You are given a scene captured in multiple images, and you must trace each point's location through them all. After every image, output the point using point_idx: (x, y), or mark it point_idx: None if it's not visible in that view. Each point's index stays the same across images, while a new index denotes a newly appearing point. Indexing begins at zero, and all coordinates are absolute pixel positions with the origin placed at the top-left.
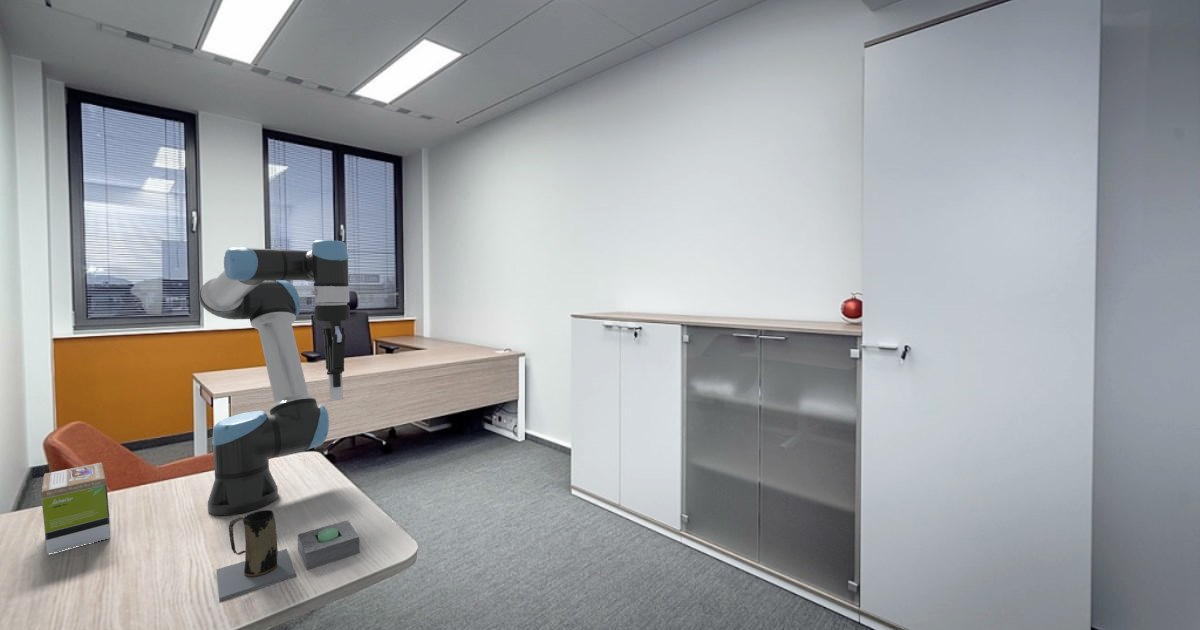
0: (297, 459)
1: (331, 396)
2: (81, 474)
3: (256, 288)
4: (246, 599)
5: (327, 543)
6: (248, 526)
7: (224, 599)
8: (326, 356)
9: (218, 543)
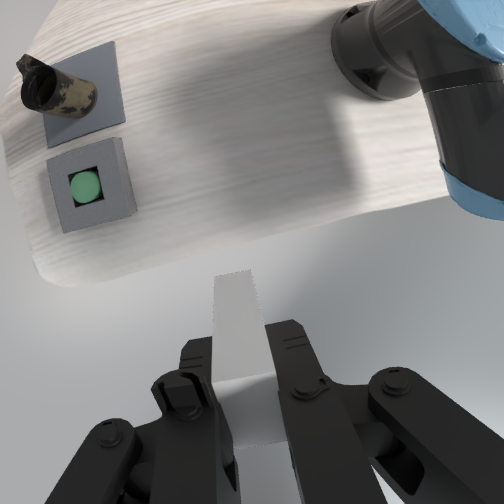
0: None
1: (215, 291)
2: None
3: None
4: None
5: (61, 188)
6: (29, 79)
7: None
8: (457, 479)
9: (218, 21)
